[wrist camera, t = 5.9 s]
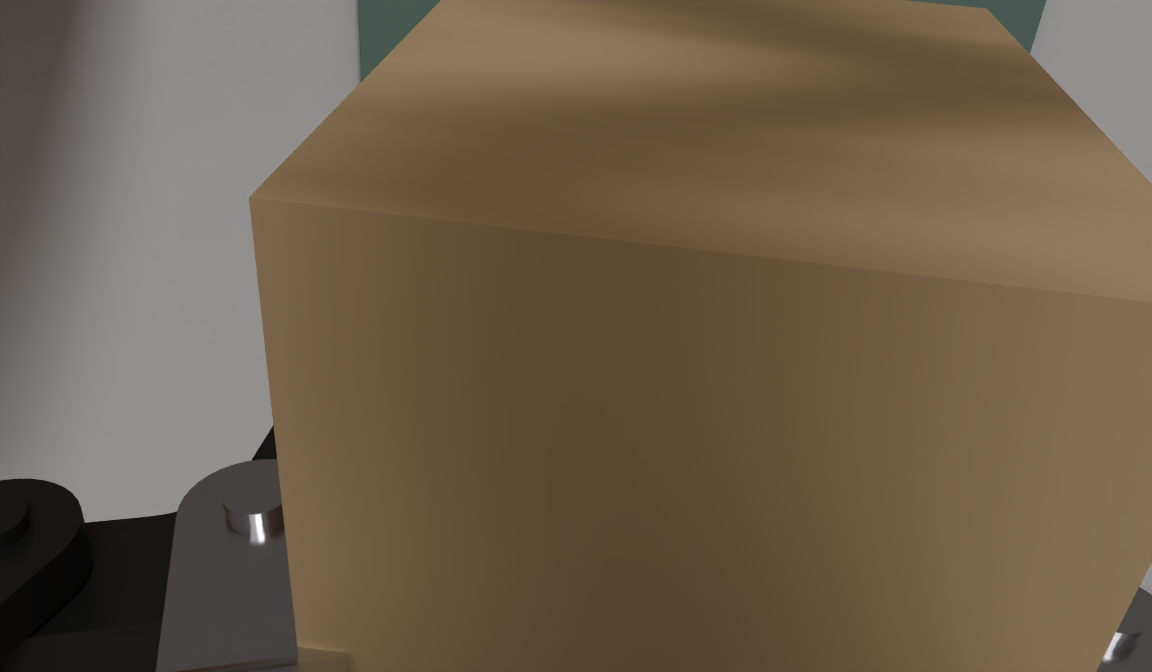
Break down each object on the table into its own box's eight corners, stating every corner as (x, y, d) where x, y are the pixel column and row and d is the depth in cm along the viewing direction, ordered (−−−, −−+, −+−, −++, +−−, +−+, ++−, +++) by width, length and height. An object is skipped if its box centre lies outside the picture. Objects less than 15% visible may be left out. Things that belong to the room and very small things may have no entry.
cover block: (987, 8, 10) (1276, 316, 5) (809, 643, 15) (860, 1137, 10) (482, -42, 10) (248, 196, 5) (468, 595, 15) (341, 1049, 10)
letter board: (1138, -323, 20) (1146, -324, 20) (931, 354, 28) (934, 362, 28) (348, -388, 21) (343, -389, 21) (373, 287, 29) (369, 294, 29)
